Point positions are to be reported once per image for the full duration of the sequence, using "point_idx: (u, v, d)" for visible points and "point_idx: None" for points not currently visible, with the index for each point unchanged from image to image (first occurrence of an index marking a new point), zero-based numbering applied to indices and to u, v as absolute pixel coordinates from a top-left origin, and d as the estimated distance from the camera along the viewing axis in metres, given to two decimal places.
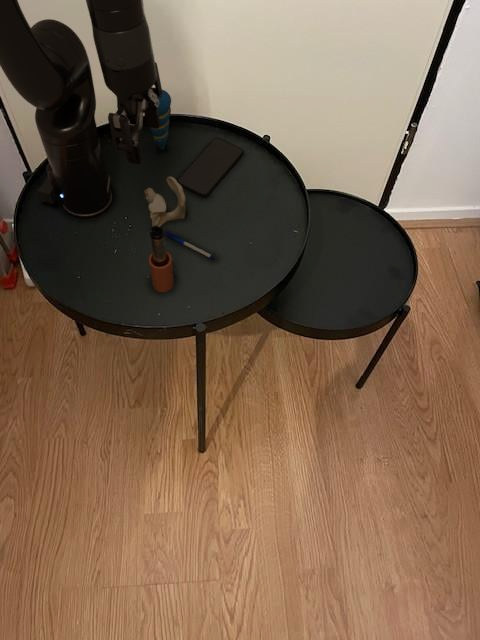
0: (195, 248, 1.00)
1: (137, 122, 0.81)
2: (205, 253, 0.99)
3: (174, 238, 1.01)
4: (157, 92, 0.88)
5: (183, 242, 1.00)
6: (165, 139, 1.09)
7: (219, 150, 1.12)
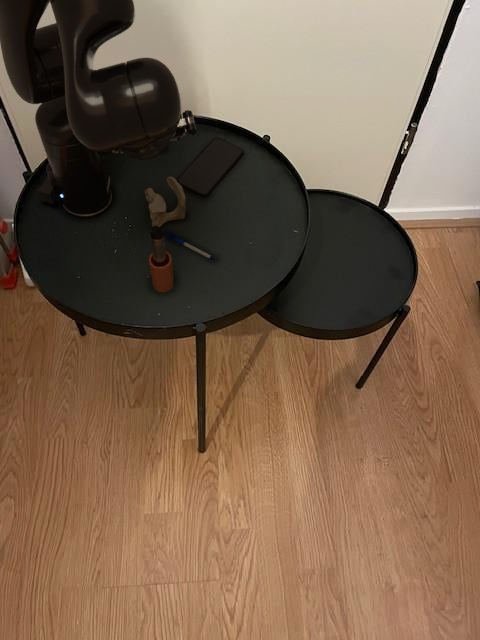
0: (195, 249, 1.00)
1: None
2: (205, 254, 1.00)
3: (174, 239, 1.01)
4: None
5: (183, 243, 1.01)
6: None
7: (219, 150, 1.12)
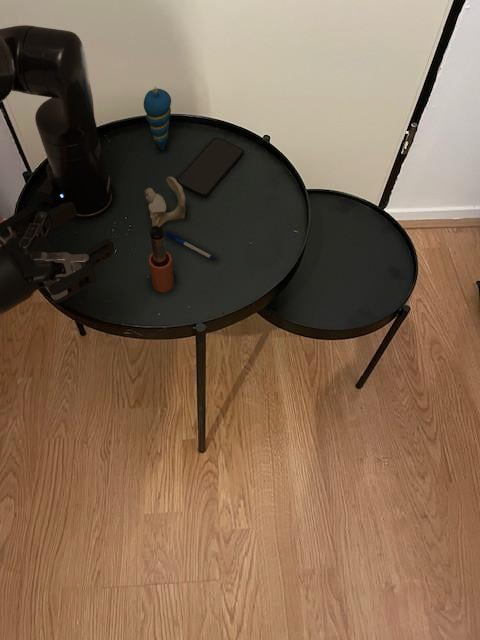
0: (195, 248, 1.00)
1: None
2: (205, 253, 1.00)
3: (174, 238, 1.01)
4: (85, 278, 0.70)
5: (183, 242, 1.01)
6: (165, 139, 1.09)
7: (219, 150, 1.12)
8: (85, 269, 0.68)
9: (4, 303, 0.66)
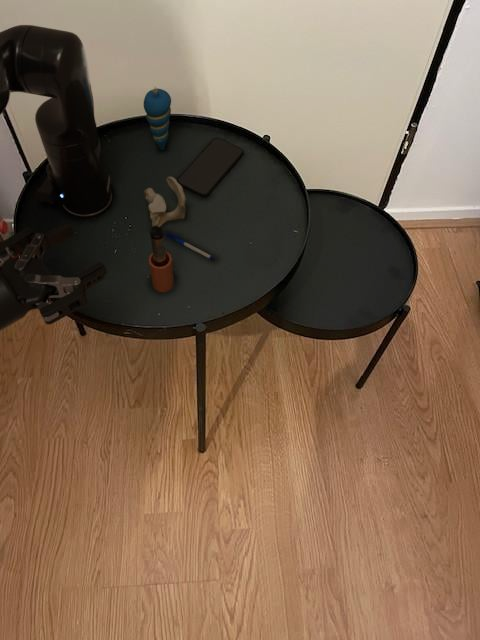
0: (195, 249, 1.00)
1: None
2: (205, 254, 1.00)
3: (174, 239, 1.01)
4: (76, 300, 0.73)
5: (183, 243, 1.01)
6: (165, 139, 1.09)
7: (219, 150, 1.12)
8: (76, 293, 0.71)
9: None
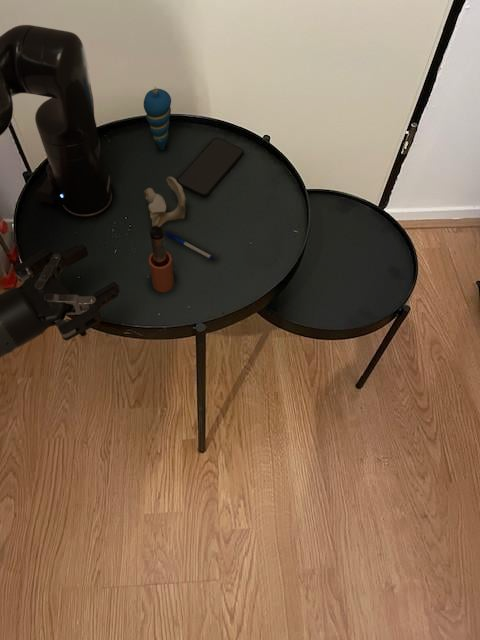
0: (195, 248, 1.00)
1: None
2: (205, 254, 1.00)
3: (174, 238, 1.01)
4: None
5: (183, 242, 1.01)
6: (165, 139, 1.09)
7: (219, 150, 1.12)
8: (91, 311, 0.76)
9: (19, 340, 0.75)
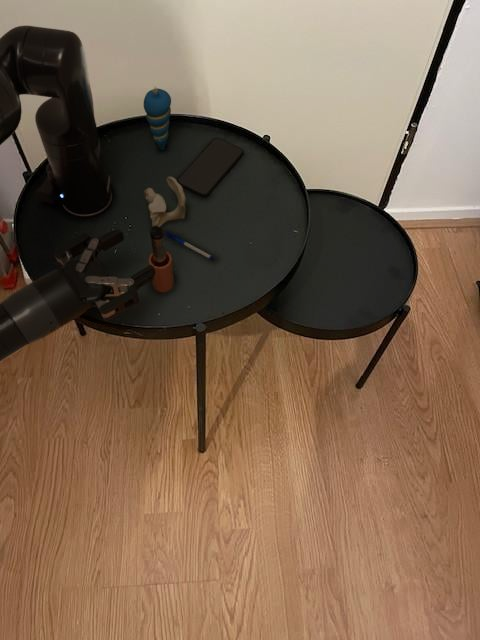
0: (195, 249, 1.00)
1: None
2: (205, 254, 1.00)
3: (174, 238, 1.01)
4: None
5: (183, 242, 1.01)
6: (165, 139, 1.09)
7: (219, 150, 1.12)
8: (130, 292, 0.80)
9: (62, 320, 0.78)
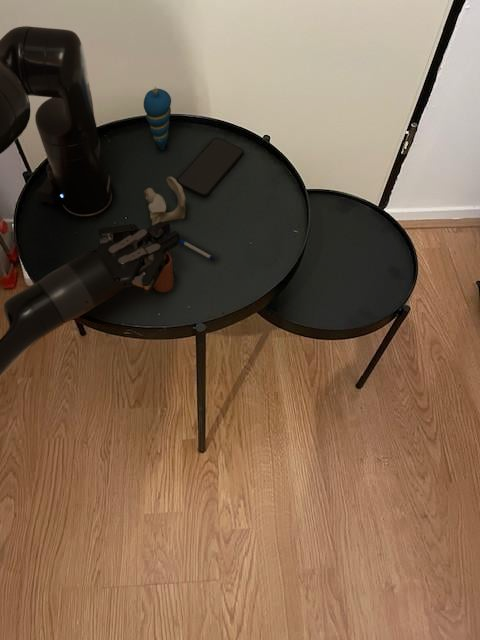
0: (195, 248, 1.00)
1: None
2: (205, 254, 1.00)
3: None
4: None
5: (183, 242, 1.01)
6: (165, 139, 1.09)
7: (219, 150, 1.12)
8: (157, 256, 0.83)
9: (97, 299, 0.80)
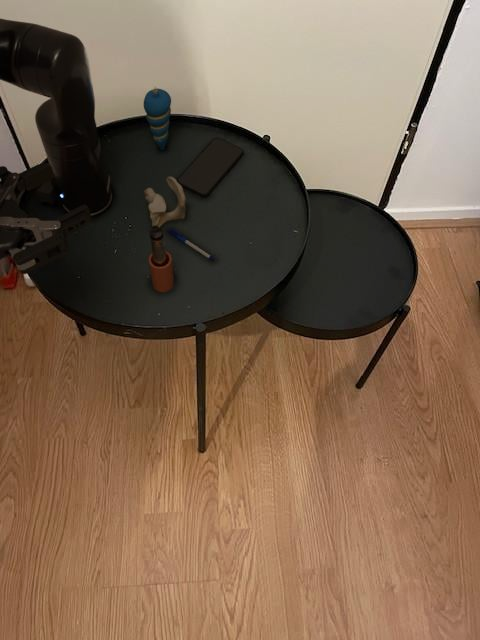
0: (196, 247, 1.00)
1: None
2: (205, 253, 0.99)
3: (176, 236, 1.01)
4: (56, 247, 0.63)
5: (185, 240, 1.01)
6: (165, 139, 1.09)
7: (219, 150, 1.12)
8: (55, 237, 0.61)
9: None
